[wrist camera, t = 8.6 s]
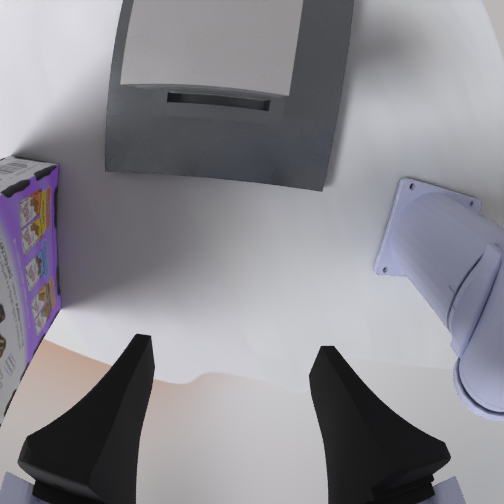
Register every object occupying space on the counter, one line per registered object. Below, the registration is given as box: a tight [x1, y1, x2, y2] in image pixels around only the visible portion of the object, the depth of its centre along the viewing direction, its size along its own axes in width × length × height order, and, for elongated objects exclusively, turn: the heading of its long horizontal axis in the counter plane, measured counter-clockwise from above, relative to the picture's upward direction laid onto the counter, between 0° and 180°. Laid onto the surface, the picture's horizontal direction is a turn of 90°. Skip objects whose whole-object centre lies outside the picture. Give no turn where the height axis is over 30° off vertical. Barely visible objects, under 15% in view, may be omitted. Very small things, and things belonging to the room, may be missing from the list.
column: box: [120, 0, 303, 101], centre depth 8 cm, size 4×4×7 cm
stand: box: [105, 0, 354, 192], centre depth 14 cm, size 14×14×4 cm
